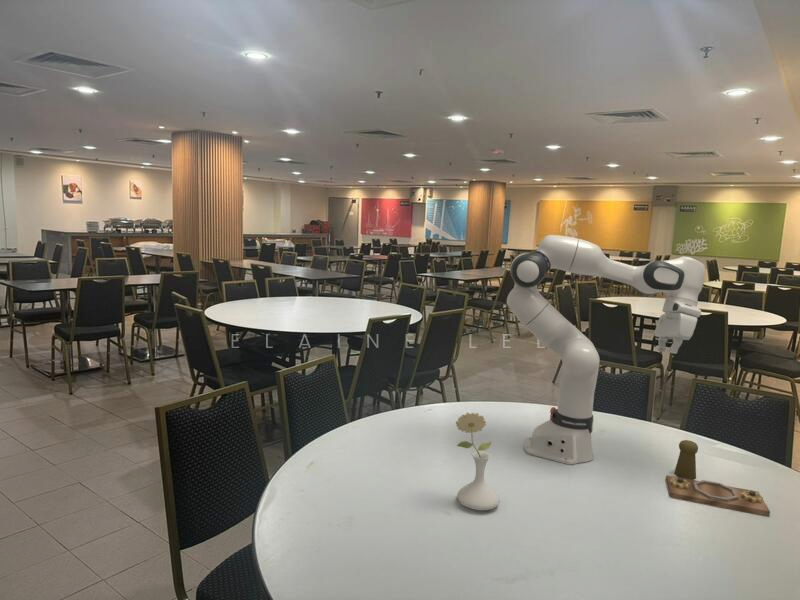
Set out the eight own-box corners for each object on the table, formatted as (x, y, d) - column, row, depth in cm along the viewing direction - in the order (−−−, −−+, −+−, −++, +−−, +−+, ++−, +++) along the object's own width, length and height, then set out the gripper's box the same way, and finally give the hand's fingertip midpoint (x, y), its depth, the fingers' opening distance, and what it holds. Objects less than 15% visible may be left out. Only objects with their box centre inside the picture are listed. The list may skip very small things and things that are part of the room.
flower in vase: (502, 498, 148) (508, 410, 145) (495, 518, 137) (502, 424, 134) (456, 488, 152) (461, 403, 149) (446, 508, 141) (451, 416, 138)
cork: (698, 481, 163) (703, 446, 162) (677, 478, 165) (681, 444, 163) (692, 472, 169) (696, 439, 168) (671, 470, 170) (675, 436, 169)
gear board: (670, 497, 152) (671, 485, 152) (665, 479, 163) (667, 468, 163) (769, 516, 144) (771, 503, 144) (757, 496, 155) (759, 484, 155)
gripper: (656, 307, 177) (644, 348, 176) (682, 305, 156) (669, 350, 156) (675, 313, 176) (663, 353, 176) (704, 311, 156) (691, 357, 155)
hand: (666, 352), depth 166 cm, fingers open, 8 cm apart
